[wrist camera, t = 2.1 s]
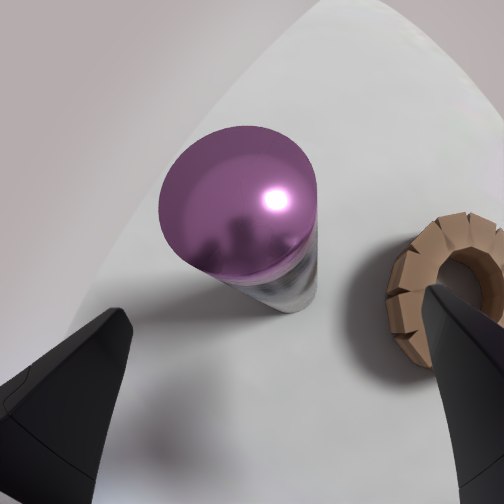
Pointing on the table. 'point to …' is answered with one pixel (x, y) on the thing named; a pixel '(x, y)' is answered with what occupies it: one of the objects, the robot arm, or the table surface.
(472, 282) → the table surface
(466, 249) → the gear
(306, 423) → the table surface
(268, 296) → the purple capped tube
